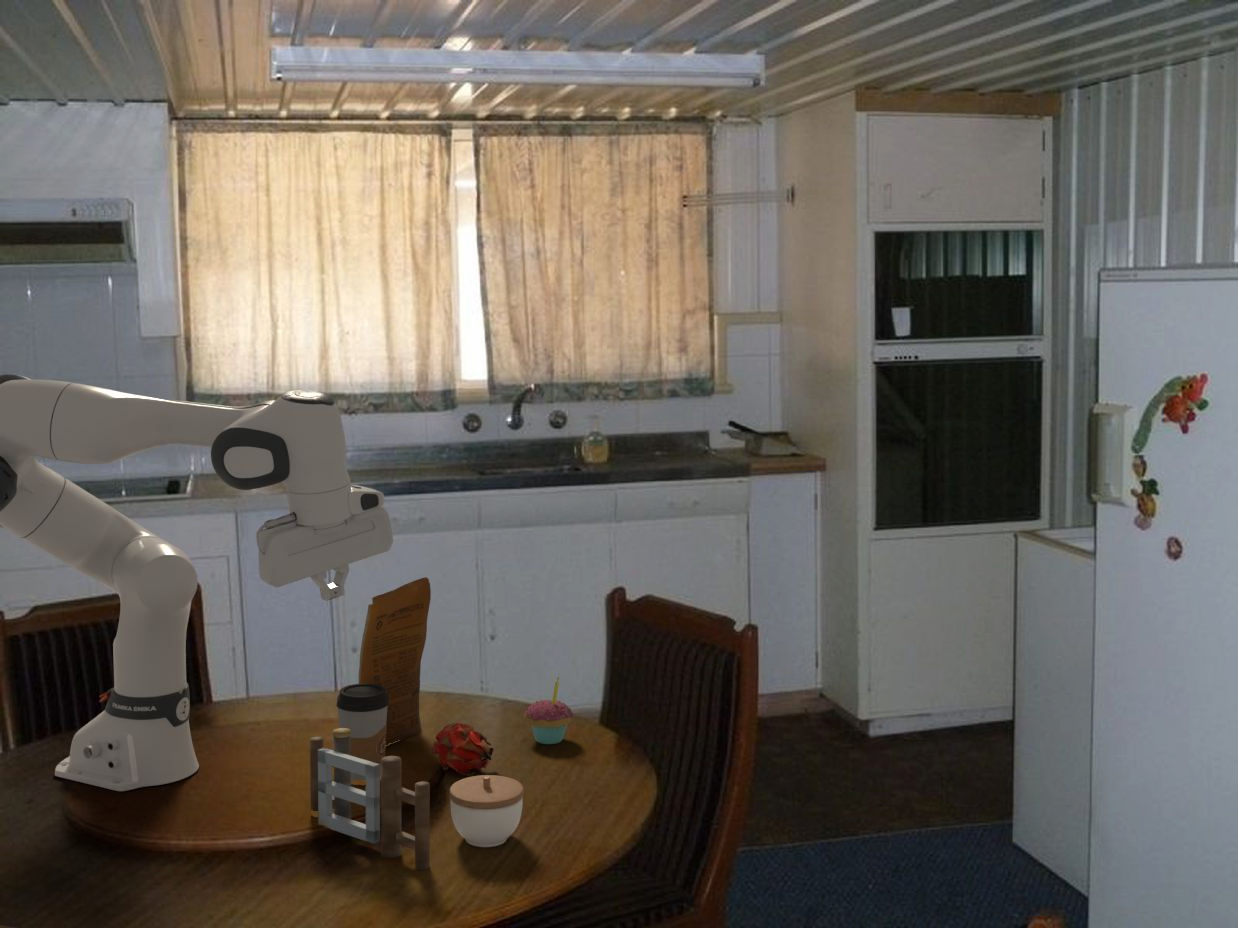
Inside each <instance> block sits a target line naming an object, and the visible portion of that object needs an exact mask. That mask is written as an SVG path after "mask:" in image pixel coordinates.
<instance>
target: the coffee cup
mask: <svg viewBox="0 0 1238 928" xmlns="http://www.w3.org/2000/svg"><path fill="white" fill-rule="evenodd" d="M336 700H337V701H336V707H337V712H338V713H337V714H338V728H348V729H350V730H351V735H350V756H354V757H357V758H360V759H364V760H367V761H371V762H374V763H377V764H380V775H381V759H382V758H384V757H386V747H385V745H386V730H387V725H386V721H387V706H388V704H389V701H388V694H387V693H386V691H385V688H384V687H383V686H381V685H377V684H368V683H363V684H359V683H353V684H350V685H346V686H343V687H341V688H340V689H339V694H338V695H337V698H336ZM351 780H357V781H358V780H366V776H363V775H360V774H356V773H353V772H351Z"/></svg>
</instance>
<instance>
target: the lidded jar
mask: <svg viewBox="0 0 1238 928" xmlns="http://www.w3.org/2000/svg"><path fill="white" fill-rule="evenodd" d="M524 791H525V790H524V786H523V784H522V783H521V782H519V780H516V779H514V778H512V777H508V776H502V775H495V774H491V775H490V774H482V775H472V776H468V777H465V778H462V779H460V780H459V779H458V781H455V782H454V783H453V784H452V785H451V786H450V788H449V798H450V801H449V802H450V813H451V819H452V823H453V825H454V827H455V830H456V831H457V832H458V834H459V835H460V836H461V837H462V838H464V839H465V842H466V843H467V844H468V845H470V846H473V847H478V848H492V847H497V846H498V847H499V846H501V845H503V844H504V843H506V842H508V841H507V840H508V838H510V836H512V834H513V833H515V831H516V829H517V828H518V826H519V824H520V821H521V817H522V812H523V811H522V810H523V800H524V799H523V798H524Z"/></svg>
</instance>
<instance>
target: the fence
mask: <svg viewBox="0 0 1238 928" xmlns="http://www.w3.org/2000/svg"><path fill="white" fill-rule="evenodd" d="M350 735H351V730H350V729H348V728H339V727H338V728H334V729H333V730H332V736H333V751H337V752H340V753H344V754H347V755H350ZM321 748H325V747H324V737H323V736H313V737H311V738H309V769H310V770H309V771H310V772H309V774H310V775H309V777H310V778H309V779H310V780H309V781H310V782H309V783H310V784H309V786H310V787H309V789H310V790H309V791H310V811H311V810H313V811H318V750H319V749H321ZM332 768H333V781H334V782H337V783H341V784H344V785H347V786H350V787H352V785H351V772H350V771H347V770H343V769H340V768H337V767H333V766H332ZM430 787H431V785H430V782H429V781H418V782H415V783H414V790H411V789H407V788H406V787H402V758H401V757H400V756H396V755H388V756H385V757H384V758H382V759H381V780H380V824H381V825H380V842H381V846H380V847H381V848H380V849H381V857H382V858H385V859H396V858H399V857H401V855H402V846H404V847H406V848H408V849H410V850H413V851H414V868H415V869H416V870H419V871H424V870H428V869H430V860H431V859H430V858H431V857H430V847H431V845H430V843H431V841H430V840H431V839H430V838H431V837H430V835H431V832H430V831H431V830H430V825H431V824H430V822H431V819H430V818H431V817H430V816H431V815H430V814H431V813H430V806H431V805H430V800H431V799H430V797H431V796H430V794H431V793H430V792H431V791H430V790H431V789H430ZM402 802H404V803H406V804H409V805H411V806H412V805H413V807H414V835H412V834H410V833H408V832H405V831H403V830H402ZM351 803H352V802H350V801H347V800H344V799H341V798H338V797H335V796H332V810H333V814H336V815H339V816H342V817H345V818H348V819H349V818H350V817H351V818H352V807H351V806H352V804H351Z"/></svg>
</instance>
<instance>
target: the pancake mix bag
mask: <svg viewBox="0 0 1238 928" xmlns="http://www.w3.org/2000/svg"><path fill="white" fill-rule="evenodd" d="M431 593H432V589H431V583H430V579H429V578H428V577H427V576H426V577H425V576H424V577H422V578H418V579H415V580H413V581H410V582H408V583H406V584H405V583H404V584H403V585H401V586H399V587H397V588H395V589H393V590H390V591H387V592H385V593H381V594H377V595H375V596H373V597H371V601H372V603H371V604H368V607H367V613H366V618H365V623H364V630H363V634H362V637H361V638H362V639H361V645H360V650H359V651H360V653H359V665H358V666H359V669H358V684H363V683H368V684H377V685H381V686H383V687H384V688H385V691H386V693H387V694H388V701H389V704H388V706H387V721H386V725H387V730H386V745H388V744H389V743H393V742H395V741H398V740H401V741H403V740H405V739H404V738H406V739H408V738H410V737H412V736H415V735H418V734H420V733H421V732H422V723H421V717H420V693H421V692H420V691H421V689H420V688H421V666H422V665H421V663H422V657H423V654H424V649H425V645H426V640H427V629H428V618H429V617H428V616H429V610H430V605H431V599H432V598H431V597H432V596H431V595H432V594H431ZM402 739H403V740H402Z"/></svg>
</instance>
